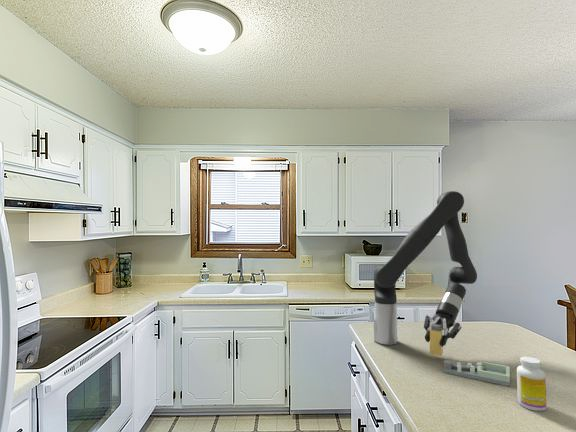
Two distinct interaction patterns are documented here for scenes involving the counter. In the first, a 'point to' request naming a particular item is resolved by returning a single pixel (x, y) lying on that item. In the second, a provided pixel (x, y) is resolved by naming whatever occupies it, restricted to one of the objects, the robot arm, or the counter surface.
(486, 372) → the board
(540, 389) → the supplement bottle
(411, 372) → the counter surface
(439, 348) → the block
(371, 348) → the counter surface
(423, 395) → the counter surface
